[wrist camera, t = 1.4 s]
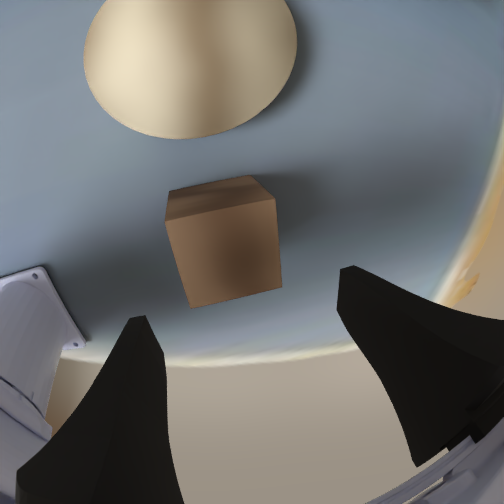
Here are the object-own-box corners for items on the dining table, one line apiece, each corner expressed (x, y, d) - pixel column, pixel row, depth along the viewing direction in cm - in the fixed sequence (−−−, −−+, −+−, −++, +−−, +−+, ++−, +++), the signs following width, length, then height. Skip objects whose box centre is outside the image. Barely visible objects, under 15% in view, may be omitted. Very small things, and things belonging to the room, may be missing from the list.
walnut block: (186, 261, 18) (190, 308, 14) (169, 191, 16) (164, 221, 12) (258, 245, 19) (282, 286, 15) (249, 174, 17) (275, 198, 12)
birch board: (112, 155, 14) (100, 163, 12) (93, 0, 8) (81, -13, 6) (290, 121, 16) (307, 123, 13) (269, -26, 10) (282, -42, 8)
